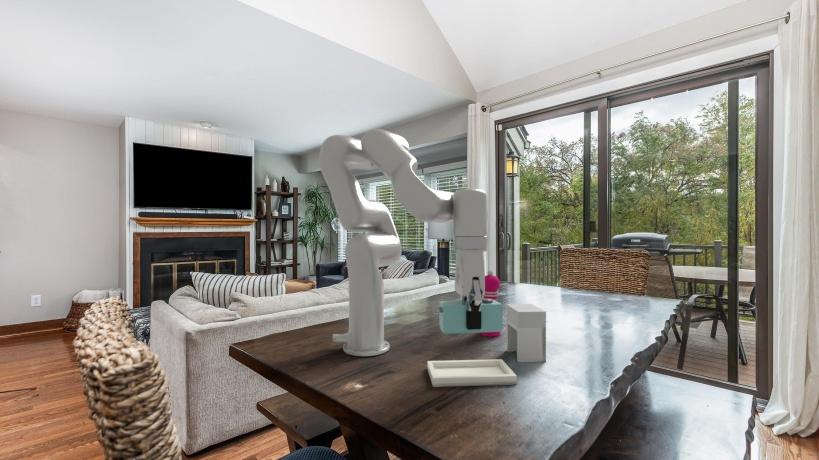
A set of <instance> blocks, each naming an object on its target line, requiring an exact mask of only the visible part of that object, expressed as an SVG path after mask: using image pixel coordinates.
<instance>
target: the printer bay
mask: <svg viewBox="0 0 819 460" xmlns="http://www.w3.org/2000/svg"><path fill="white" fill-rule="evenodd" d="M505 329H506V330H505V331H506V341H505V342H506V352H516V362H518V363H539V362H540V363H541V362H542V363H545V362H547V311H546V310H544V309H542V308H540V307H538V306H536V305H534V304H532V303H520V304H518V303H516V304H515V303H514V304H513V303H510V304H509V303H507V304H506V328H505Z"/></svg>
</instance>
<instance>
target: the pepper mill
mask: <svg viewBox="0 0 819 460" xmlns="http://www.w3.org/2000/svg"><path fill="white" fill-rule="evenodd" d="M500 287H501V281H500V279H499V278H498V277H497V276H496V275H494V272H493V270H492V269H491V270H490V269H489V270H487V274H485V294H484V296H483V299H493V300H496V301H497V299H498V296H499V288H500ZM497 302H498V301H497ZM479 333H480V335H482V336H484V337H493V338H494V337H499V336H501V332H479Z"/></svg>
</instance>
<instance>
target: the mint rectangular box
mask: <svg viewBox="0 0 819 460" xmlns="http://www.w3.org/2000/svg"><path fill="white" fill-rule="evenodd" d="M438 302H439V306H437V307H436V309H437V311H438V313H439V315H438V316H439V320H438V321H439V329H440V330H441V332H442V333H443V334H467V333H472V334H473V333H480V332H500V333H501V332H503V304H502V303H501V302H499V301H496V300H493V299H484V298H482V300H481V329H473V330H468V329H467V328H466V311H468V307H467V301H461V300H443V301H441V300H439V301H438ZM471 302H472V301H471Z"/></svg>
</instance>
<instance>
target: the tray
mask: <svg viewBox="0 0 819 460" xmlns="http://www.w3.org/2000/svg"><path fill="white" fill-rule="evenodd" d="M426 362H427V364H426V365H427V367H426V368H427V369H426V370H427V373H428V375H429V378H430V381H431V384H432V385H431V386H432V387H433V388H441V387H442V388H443V387H444V388H445V387H471V386H472V387H473V386H474V387H475V386H503V385H505V386H506V385H508V386H509V385H517V383H518V382H517V381H518V376H517V374H516V373H515V372H514V371H513V369H511V368H510V367H509V365H508V364H507V363H506V362H505V361H504V360H503V359H502V358H501V359H500V358H498V359H493V358H492V359H462V360H461V359H459V360H458V359H457V360H455V359H452V360H427V361H426Z"/></svg>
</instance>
